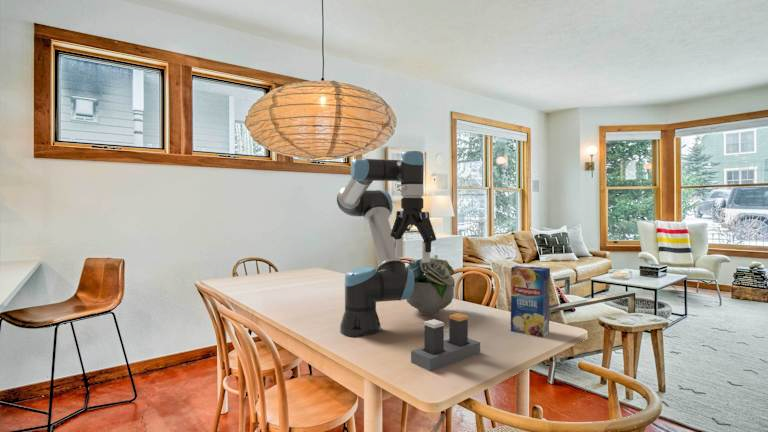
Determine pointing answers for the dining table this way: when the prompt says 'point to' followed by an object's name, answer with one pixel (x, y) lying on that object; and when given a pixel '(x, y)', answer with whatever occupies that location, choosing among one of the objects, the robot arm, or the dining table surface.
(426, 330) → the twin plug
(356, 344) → the dining table surface
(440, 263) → the flower arrangement
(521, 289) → the juice carton
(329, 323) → the dining table surface
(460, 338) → the plug
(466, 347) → the grey socket block
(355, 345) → the dining table surface
